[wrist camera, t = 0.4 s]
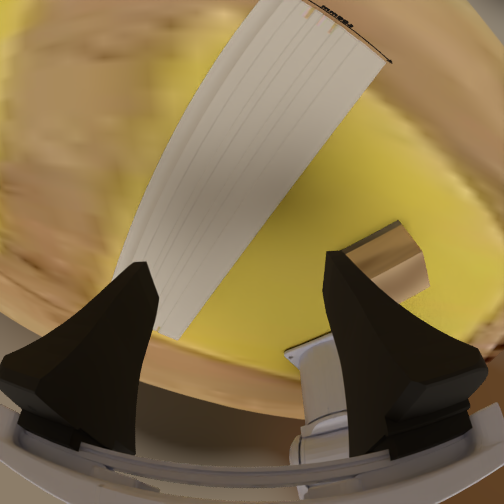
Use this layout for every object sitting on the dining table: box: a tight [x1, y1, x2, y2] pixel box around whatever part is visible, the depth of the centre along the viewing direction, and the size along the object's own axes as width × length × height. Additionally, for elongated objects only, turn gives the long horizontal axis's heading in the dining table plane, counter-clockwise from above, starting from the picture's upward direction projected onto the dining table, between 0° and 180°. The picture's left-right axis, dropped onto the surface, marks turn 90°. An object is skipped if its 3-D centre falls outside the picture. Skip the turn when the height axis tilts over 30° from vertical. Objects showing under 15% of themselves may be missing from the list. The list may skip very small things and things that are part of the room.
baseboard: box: [111, 0, 392, 340], centre depth 19 cm, size 30×3×10 cm
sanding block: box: [341, 220, 430, 304], centre depth 21 cm, size 4×6×4 cm, turn 124°
